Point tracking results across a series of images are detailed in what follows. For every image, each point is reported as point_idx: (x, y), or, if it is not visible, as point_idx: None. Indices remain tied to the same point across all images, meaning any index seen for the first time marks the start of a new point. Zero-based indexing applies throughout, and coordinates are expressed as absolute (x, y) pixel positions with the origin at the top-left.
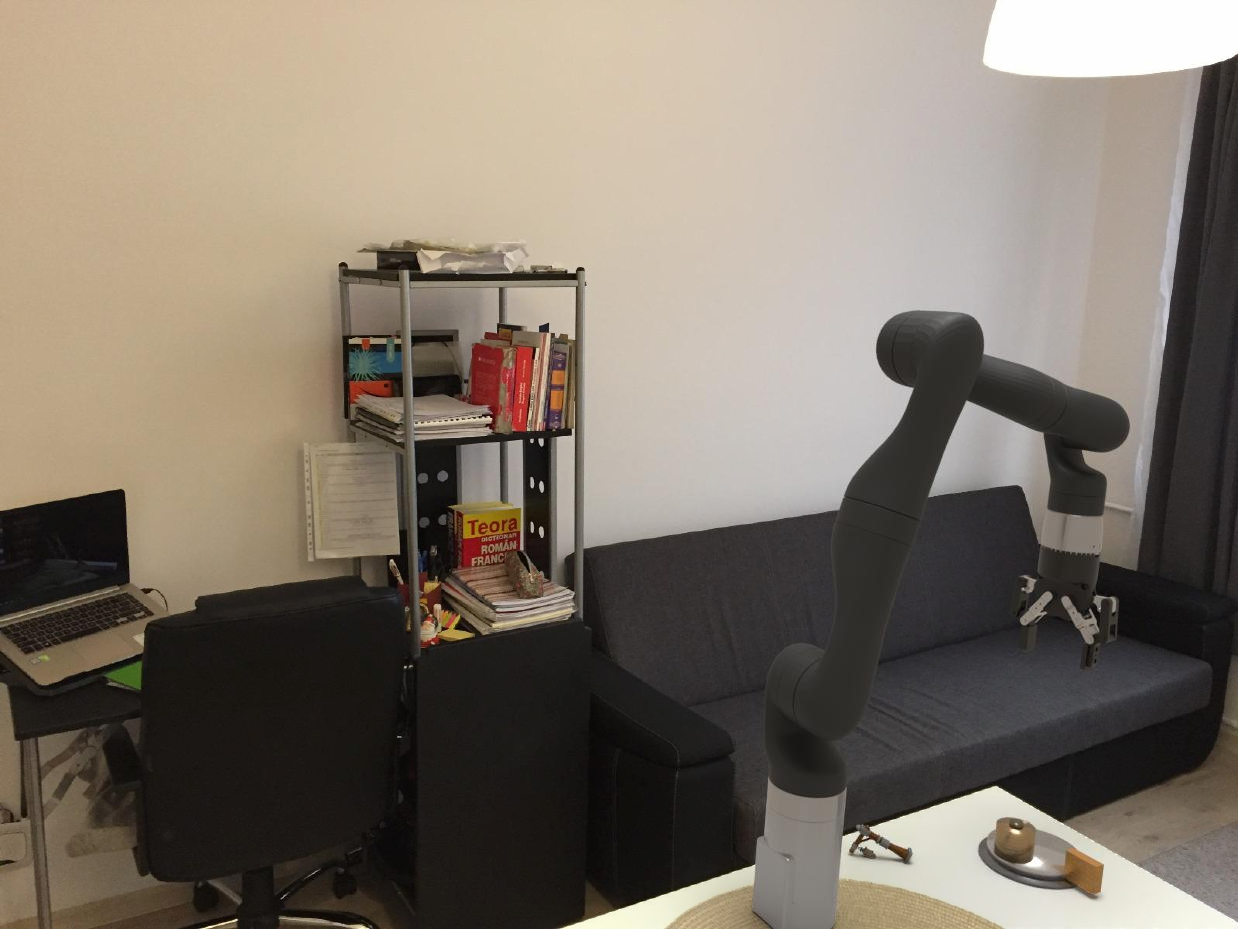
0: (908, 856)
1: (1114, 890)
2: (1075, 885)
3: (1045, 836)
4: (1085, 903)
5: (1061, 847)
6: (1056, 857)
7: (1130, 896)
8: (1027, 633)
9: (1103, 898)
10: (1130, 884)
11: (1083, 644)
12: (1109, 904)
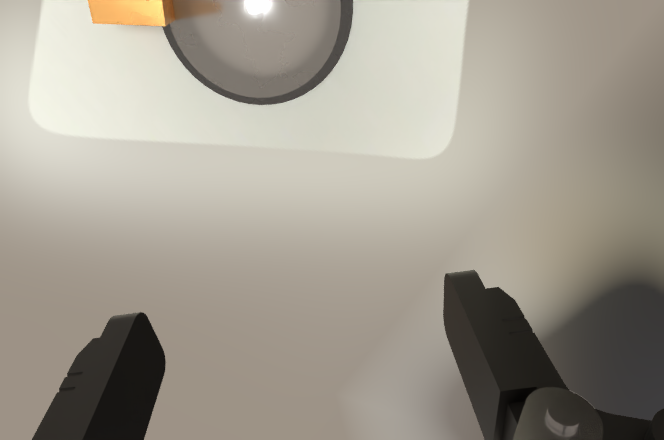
0: None
1: (132, 62)
2: None
3: (278, 75)
4: None
5: (236, 67)
6: (210, 22)
7: (109, 70)
8: (488, 349)
9: None
10: (141, 105)
11: (81, 435)
12: None
